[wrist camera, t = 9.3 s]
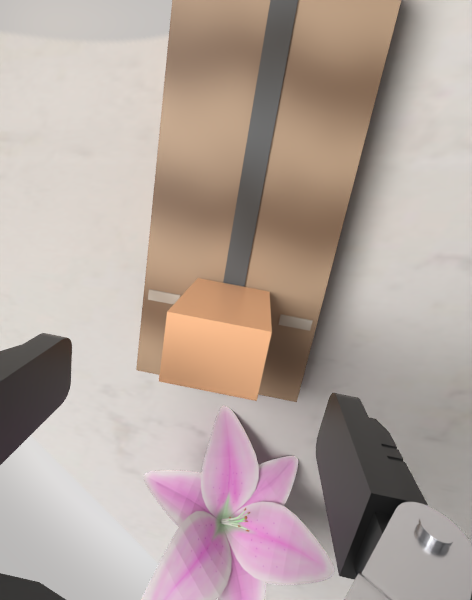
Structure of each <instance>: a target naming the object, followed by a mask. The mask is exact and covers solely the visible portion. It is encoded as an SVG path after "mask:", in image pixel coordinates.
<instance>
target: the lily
mask: <svg viewBox="0 0 472 600" xmlns="http://www.w3.org/2000/svg"><path fill="white" fill-rule="evenodd" d="M297 468H298V458H296V457H295V456H286V457H281V458H277V459H273V460H270V461H267V462H264V463H262V464H259V465H258V461H257V458H256V454H255V451H254V449H253V447H252V444H251V442H250V440H249V438H248V436H247V434H246V432H245V430H244V428H243V427H242V425H241V423H240V422H239V420H238V418H237V417H236V415H235V414H234V412H233V411H232V410H231V409H230V408H228V407H226V406H222V407H221V408H220V410H219V412H218V414H217V417H216V420H215V423H214V426H213V429H212V433H211V437H210V440H209V444H208V447H207V451H206V454H205V458H204V462H203V467H202V471H201V473H199V472H193V471H185V470H157V471H149V472H147V473H145V474H144V482H145V483H146V485H147V487H148V489H149V490H150V492H151V493H152V495H153V496H154V497H155V499H156V500H157V502H158V503H159V504H160V506H161V507H162V508H163V510H164V511H165V512H166V513H167V515H168V516H169V517H170V518H171V519H172V520H173V521H174V523H175V524H176V525H177V526H178V527H179V528H178V530H177V531H176V533H175V535H174V536H173V538H172V539H171V541H170V543H169V545H168V547H167V549H166V551H165V553H164V555H163V557H162V559H161V561H160V562H159V564H158V566H157V568H156V570H155V572H154V574H153V576H152V578H151V580H150V582H149V584H148V586H147V588H146V590H145V592H144V594H143V596H142V598H141V600H216V599H217V598H218V600H265V594H266V583H269V584H276V585H296V584H306V583H313V582H319V581H323V580H326V579H328V578H330V577H332V575H333V573H334V567H333V563H332V561H331V560H330V558H329V556H328V554H327V553H326V551H325V550H324V548H323V547H322V546H321V544H320V543H319V542H318V540H317V539H316V538H315V536H314V535H313V534H312V533H311V532H310V530H309V529H308V528H307V527H306V526H305V524H304V523H303V522H302V521H301V520H300V519H299V518H298V517H297V516H296V515H295V514H294V513H292V512H291V511H290V510H289V509H287V508H286V507H284V505H285V503H286V501H287V499H288V497H289V495H290V492H291V489H292V486H293V483H294V480H295V476H296V473H297Z"/></svg>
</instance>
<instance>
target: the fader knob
mask: <svg viewBox="0 0 472 600" xmlns="http://www.w3.org/2000/svg"><path fill="white" fill-rule="evenodd" d="M271 334H272V326H271V308H270V292H269V291H264V290H258V289H253V288H248V287H243V286H237V285H232V284H227V283H222V282H216V281H211V280H206V279H201V278H197V279H196V281H195V282H194V283H193V284H192V285H191V286H190V287H189V288H188V289H187V290H186V291H185V293H184V294H183V295H182V296H181V297H180V298H179V299H178V300H177V301H176V302H175V304H174V305H173V306H172V307H171V308H170V309H169V310H168V311H167V317H166V325H165V334H164V342H163V350H162V359H161V367H160V375H159V381H160V382H165V383H170V384H175V385H180V386H185V387H190V388H195V389H200V390H205V391H210V392H215V393H220V394H225V395H230V396H235V397H240V398H245V399H250V400H255V401H257V397H258V392H259V388H260V383H261V379H262V374H263V370H264V365H265V361H266V356H267V352H268V347H269V343H270V338H271Z"/></svg>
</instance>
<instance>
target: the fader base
mask: <svg viewBox="0 0 472 600" xmlns="http://www.w3.org/2000/svg"><path fill="white" fill-rule="evenodd" d="M400 4H401V0H172V10H171V21H170V31H169V41H168V51H167V62H166V72H165V82H164V92H163V103H162V113H161V123H160V133H159V144H158V154H157V164H156V174H155V185H154V195H153V205H152V215H151V226H150V236H149V246H148V256H147V266H146V277H145V287H144V297H143V307H142V318H141V328H140V338H139V348H138V359H137V369H136V370H138V371H143V372H148V373H153V374H158V375H160V367H161V359H162V350H163V342H164V334H165V325H166V317H167V311H168V310H169V309H170V308H171V307H172V306H173V305H174V304H175V302H176V301H177V300H178V299H179V298H180V297H181V296H182V295H183V294H184V293H185V291H186V290H187V289H188V288H189V287H190V286H191V285H192V284H193V283H194V282H195V281H196V279H197V278H201V279H206V280H211V281H216V282H222V283H227V284H232V285H237V286H243V287H248V288H253V289H258V290H264V291H269V292H270V308H271V326H272V334H271V338H270V343H269V347H268V352H267V356H266V361H265V365H264V370H263V374H262V379H261V383H260V388H259V392H258V394H259V395H264V396H269V397H274V398H279V399H284V400H289V401H294V402H297V399H298V395H299V391H300V387H301V383H302V379H303V376H304V372H305V368H306V364H307V360H308V356H309V353H310V349H311V345H312V341H313V337H314V333H315V330H316V326H317V322H318V318H319V314H320V310H321V307H322V303H323V299H324V295H325V291H326V287H327V284H328V280H329V276H330V272H331V268H332V264H333V261H334V257H335V253H336V249H337V245H338V241H339V238H340V234H341V230H342V226H343V222H344V218H345V215H346V211H347V207H348V203H349V199H350V195H351V192H352V188H353V184H354V180H355V176H356V172H357V169H358V165H359V161H360V157H361V153H362V149H363V145H364V142H365V138H366V134H367V130H368V126H369V122H370V119H371V115H372V111H373V107H374V103H375V99H376V96H377V92H378V88H379V84H380V80H381V76H382V73H383V69H384V65H385V61H386V57H387V53H388V50H389V46H390V42H391V38H392V34H393V30H394V27H395V23H396V19H397V15H398V11H399V7H400Z"/></svg>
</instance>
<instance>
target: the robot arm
mask: <svg viewBox="0 0 472 600" xmlns="http://www.w3.org/2000/svg"><path fill="white" fill-rule="evenodd" d="M71 357H72V343H71V340H70V339H69V338H65V337H61V336H56V335H51V334H46V333H42V334H40V335H38V336H36V337H35V338H33V339H31V340H29V341H28V342H26V343H24V344H23V345H19V346H16V347H13V348H9V349H6V350H3V351H0V465H1V464H2V463H3V462H4V461H5V460H6V459H7V458H8V457H9V456H10V455H11V454H12V453H13V452H14V451H15V450H16V449H17V448H18V447H19V446H20V445H21V444H22V443H23V442H24V441H25V440H26V439H27V438H28V437H29V436H30V435H31V434H32V433H33V432H34V431H35V430H36V429H37V428H38V427H39V426H40V425H41V424H42V423H43V422H44V421H45V420H46V419H47V418H48V417H49V416H50V415H51V414H52V413H53V412H54V411H55V410H56V409H57V408H58V407H59V406H60V405H61V404H62V403H63V402H64V400H65V399H66V397H67V395H68V392H69V389H70V384H71ZM316 459H317V464H318V470H319V475H320V480H321V485H322V490H323V495H324V500H325V505H326V511H327V516H328V521H329V526H330V531H331V536H332V541H333V546H334V552H335V557H336V562H337V567H338V572H339V576H342V577H346V578H351V579H355V580H354V582H353V584H352V586H351V587H350V589H349V591H348V593H347V595H346V597H345V599H344V600H472V544H471V542H470V540H469V539H468V538H467V536H466V535H465V534H464V533H463V531H462V530H461V529H460V528H459V527H458V526H457V525H456V524H455V523H454V522H453V521H451V520H450V519H449V518H448V517H446V516H445V515H443V514H442V513H441V512H439V511H437V510H435V509H433V508H431V507H429V506H428V505H427V503H426V501H425V499H424V497H423V495H422V493H421V491H420V490H419V488H418V486H417V484H416V482H415V480H414V478H413V476H412V474H411V473H410V471H409V469H408V467H407V465H406V463H405V462H403V458H402V456H401V454H400V452H399V450H397V446H396V444H395V442H394V441H393V439H392V437H391V435H390V433H389V432H388V431H387V430H386V429H385V428H384V427H383V426H382V425H381V424H380V423H379V422H378V421H377V420H376V419H373V418H369V417H368V415H367V413H366V411H365V409H364V407H363V405H362V402H361V400H360V399H359V398H356V397H351V396H346V395H342V394H337V393H332V394H331V396H330V398H329V400H328V404H327V407H326V410H325V414H324V417H323V420H322V423H321V427H320V430H319V433H318V437H317V443H316ZM0 600H65V599H64V598H62V597H61V596H59V595H58V594H56V593H55V592H53V591H52V590H50V589H49V588H47V587H46V586H44V585H43V584H41V583H39V582H35V581H31V580H27V579H23V578H18V577H14V576H9V575H5V574H1V573H0Z"/></svg>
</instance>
